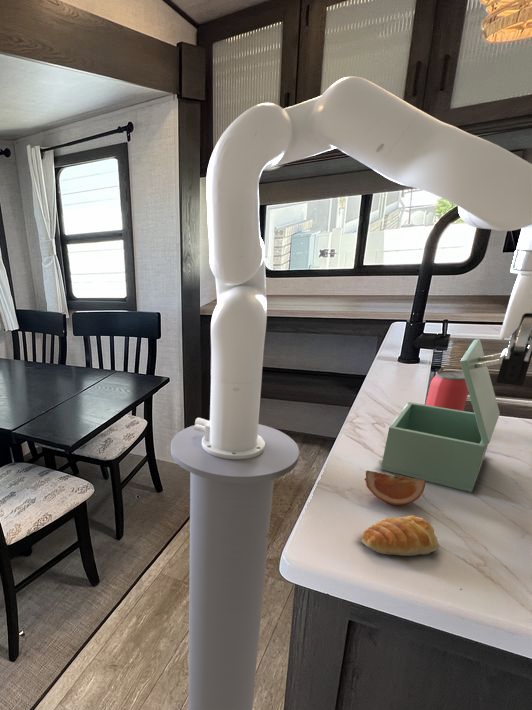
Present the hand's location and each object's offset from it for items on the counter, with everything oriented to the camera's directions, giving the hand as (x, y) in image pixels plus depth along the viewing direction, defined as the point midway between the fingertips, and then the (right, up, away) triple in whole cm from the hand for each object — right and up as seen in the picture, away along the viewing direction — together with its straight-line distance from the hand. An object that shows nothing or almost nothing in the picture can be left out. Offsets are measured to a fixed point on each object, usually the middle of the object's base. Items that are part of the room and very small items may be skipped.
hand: (511, 377), depth 76 cm
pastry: (-23, -26, -7) cm, 35 cm away
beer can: (+8, -8, +26) cm, 28 cm away
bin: (-4, -15, +12) cm, 20 cm away
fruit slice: (-18, -21, +4) cm, 27 cm away
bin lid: (-2, -2, +4) cm, 5 cm away
